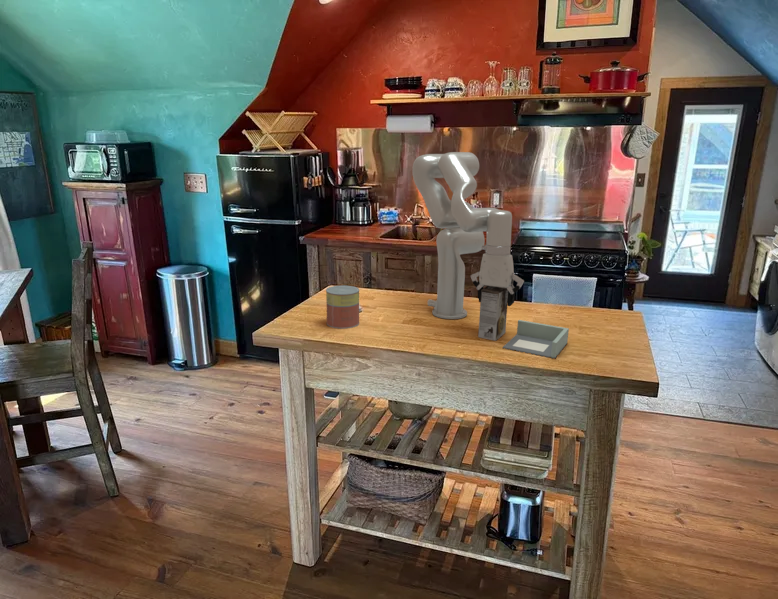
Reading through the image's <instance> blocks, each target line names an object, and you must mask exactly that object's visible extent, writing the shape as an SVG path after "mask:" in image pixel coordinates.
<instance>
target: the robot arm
mask: <svg viewBox="0 0 778 599" xmlns="http://www.w3.org/2000/svg"><path fill="white" fill-rule="evenodd" d="M411 169H412V178H413V182H414V184H415V186H416V188H417V190H418V192H419V193H420V195H421V197H422V199H423V200H424V204H425V207H426V209H427V211H428V214H429V217H430V219H431V222H432V224H433V226H434V227H435V228H437V229H442V230H440V231H439V232H438V234H437V236H436V239H435V240H436V243H435V244H436V250H437V258H438V259H437V261H438V266H437V292H436V293H437V295H436V299H435V300H434V299H431V298H429V299H428V300H427V306H428V307H433V309H432V310H431V311H432V315H433V316H434V317H436V318H438V319H439V318H440V319H446V320H457V319H458V320H459V319H464V318H465V317H467V316H468V310H466V309H465V308H464V297H465V296H464V295H465V277H466V267H465V266H466V265H465V263H464V261H463V260H462V257H461V255H466V254H467V255H468V254H475V253H478V252H481V251H482V250H484V252H485V253H483V254H482V257H481V262H480V269H479V271H477V272H475V273H472V274H470V278H471V279H470V280H471V282H472V284H473V285H474V286H475V288H476V290H477V299H478V303H480V301H481V290H482V289H483V288H485V287H487V286H491V287H499V288H507V289H508V303H507V307H510V306H512V305H513V304H514V303H515V296H516V295H515V293H516V292H517V291H519V290H520V289H521V288H522V286H523V284H524V282H525V280H524V279H522V278H521V277H519V276H518V275H517V274H515V272H514V270H515V269H514V260H513V255H512V254H511V246H512V245H511V242H512V226H513V214H512V212H511V211H510V210H503V209H502V210H501V209H499V208H497V207H496V208H495V207H476V208H475V207H473V206H472V205H471V204H470V203H469V202H467V201H466V199H467V198H469V197H471V195H473V194H474V192H475V191H476V190H477V187H478V182H477V180H476V179H475V177H474V176H476V175H477V174H478V172H479V170H480V162H479V158H478V157H477V156H476V154H474V153H472V152H469V151H466V152H465V151H451V152H446V153H426V154H421V155H419V156H417V157H416V158H415V159H414V161H413V163H412V168H411ZM436 179H444V181H445V182H446V184H447V185H448V187H449V189H450V190H451V192H452V196H451V199H450V197H449V196H448V193H447V191H446V189H445V188H444V186H443V185H442V184H441V183H440V182H438V181H437V180H436ZM484 232H486V237H485V234H484ZM485 238H486V240H485ZM485 241H486V242H485ZM477 277H479V280H478V278H477ZM514 281H515V282H516V283H517V284H516V286H514Z"/></svg>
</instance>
